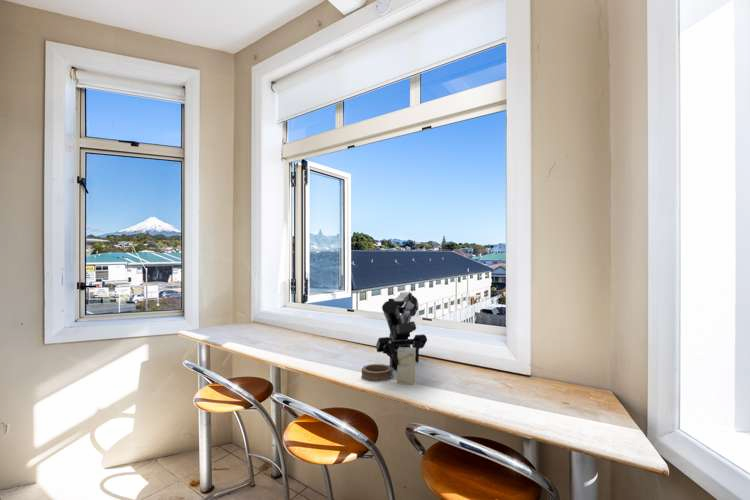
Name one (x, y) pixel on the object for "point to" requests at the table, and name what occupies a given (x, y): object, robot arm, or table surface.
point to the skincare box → (406, 365)
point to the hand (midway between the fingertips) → (408, 363)
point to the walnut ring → (377, 372)
